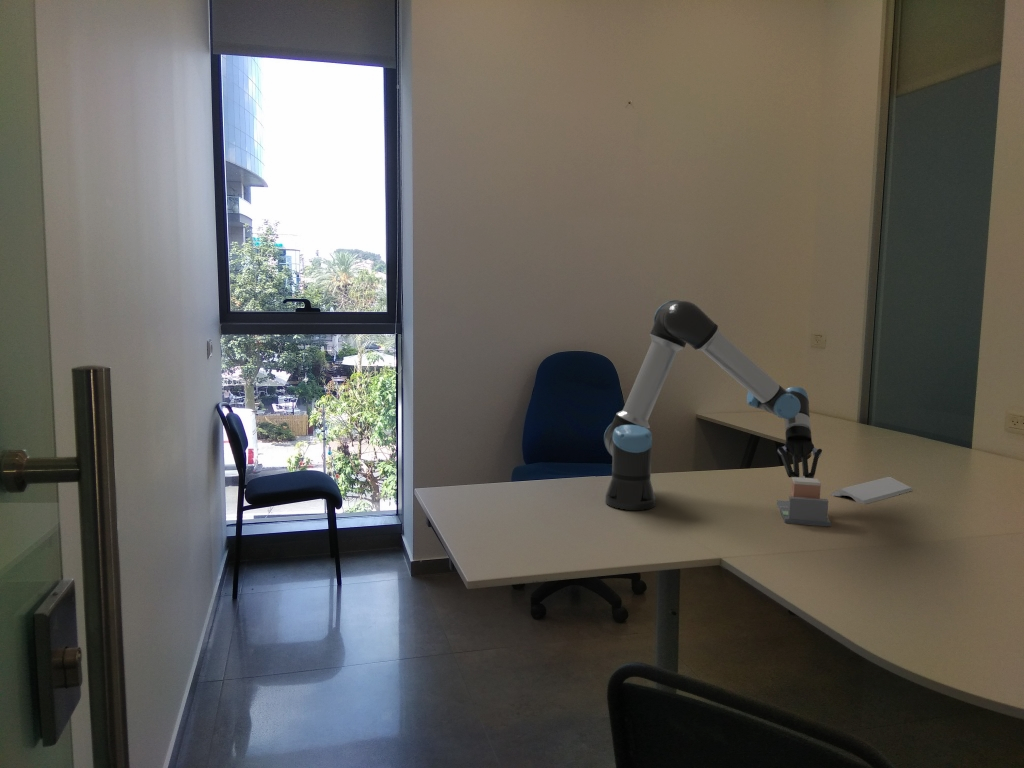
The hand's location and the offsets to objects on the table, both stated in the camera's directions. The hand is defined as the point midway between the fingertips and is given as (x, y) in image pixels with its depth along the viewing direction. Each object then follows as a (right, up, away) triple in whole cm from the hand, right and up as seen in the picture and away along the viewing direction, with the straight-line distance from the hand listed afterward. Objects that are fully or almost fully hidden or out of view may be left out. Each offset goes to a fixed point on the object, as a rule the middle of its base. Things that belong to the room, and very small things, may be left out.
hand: (802, 497), depth 212 cm
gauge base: (0, -5, 0) cm, 5 cm away
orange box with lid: (-1, -4, -3) cm, 5 cm away
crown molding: (+32, -3, +25) cm, 41 cm away
